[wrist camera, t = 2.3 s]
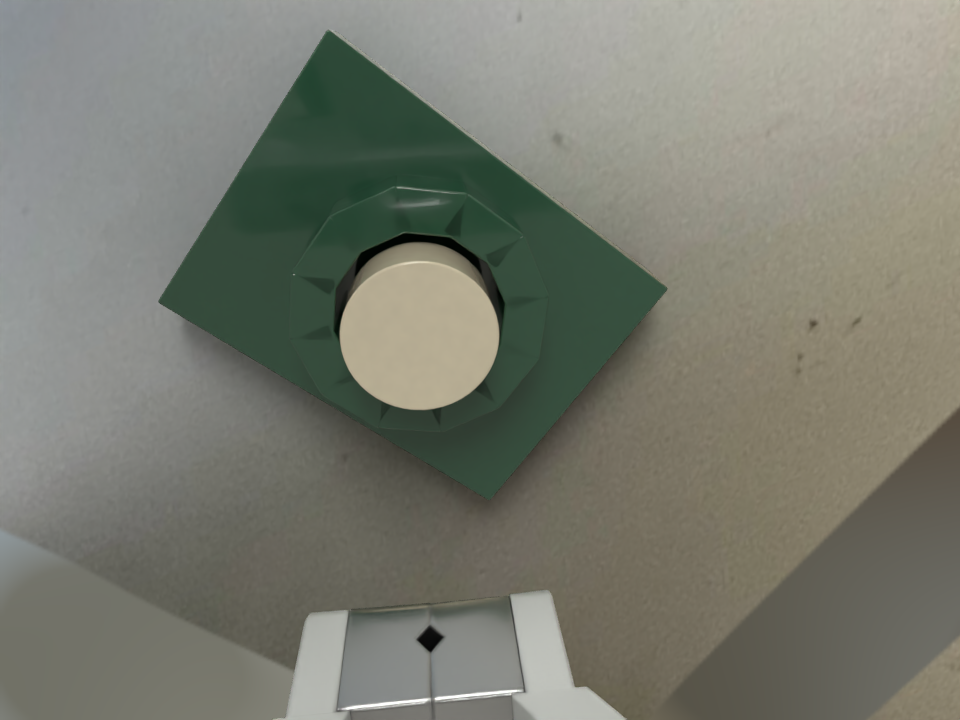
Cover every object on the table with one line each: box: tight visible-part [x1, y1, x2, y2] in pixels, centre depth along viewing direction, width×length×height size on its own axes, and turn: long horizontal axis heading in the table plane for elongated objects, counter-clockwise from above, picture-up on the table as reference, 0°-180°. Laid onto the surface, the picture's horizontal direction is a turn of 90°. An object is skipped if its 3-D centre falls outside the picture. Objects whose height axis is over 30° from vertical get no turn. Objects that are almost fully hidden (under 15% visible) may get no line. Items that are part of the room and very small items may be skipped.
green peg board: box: [158, 30, 667, 500], centre depth 22 cm, size 12×9×4 cm
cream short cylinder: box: [340, 242, 499, 410], centre depth 20 cm, size 4×4×2 cm
